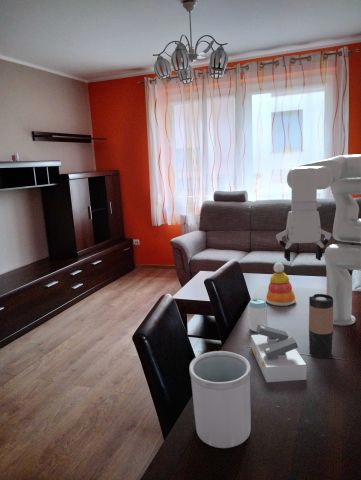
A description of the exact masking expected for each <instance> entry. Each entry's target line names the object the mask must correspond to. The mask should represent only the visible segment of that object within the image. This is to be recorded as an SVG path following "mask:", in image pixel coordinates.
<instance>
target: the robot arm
mask: <svg viewBox="0 0 361 480" xmlns="http://www.w3.org/2000/svg"><path fill="white" fill-rule="evenodd" d="M286 182H287V186H288V187H289V188H290V189H291V201H290V202H291V209H290V210H291V211H288V212H287V219H286V227H285V230H282V231H281V232H279V233H277V234H276V235H275V238H276V240H277V241H278V244H280V245H281V247H283V253H284V255H283V256H284V257H283V258H284V259H285V260H286V261H287V262H291V249H290V247H291V246H292V245H293V244H309V243H310V244H313V243H315V244H316V245H317V246H316V247H315V259H316V260H318V261H321V260H322V258H323V253H324V261H325V269H326V295H329V296H331V297H333V326H341V327H342V326H350V325H353V324H354V323H356V317H355V316H354V315H352V310H353V309H352V308H353V307H352V306H353V305H352V303H353V302H352V301H353V299H352V297H353V278H352V275H351V274H350V272H349V270H351V271H361V245H355V244H354V245H352V244H343V243H345V242H346V243H358V244H361V218H359V213H360V207H359V204H358V203H357V201H356V199H355V198H354V197H353V196H352V195H361V153H360V154H343V155H342V154H341V155H337V156H333V157H330V158H327V159H323V160H319V161H314V162H310V163H304V164H300V165H295V166H293V167H292V168H290V170H289V171H288V173H287V175H286ZM329 187H330V190H331V193H332V196H333V199H334V202H335V208H336V209H335V215H334V220H333V227H332V233H331V232H329V231H327V230H324V229H323V228H322V227H321V219H320V212H319V211H318V209H319V208H321V207H322V203H321V202H318V201H317V200H318V199H317V194H318V192H317V190H318V191H319V190H326V189H328V188H329ZM322 235H324V238H323V239H322V240H321V238H322ZM283 237H285V240H286V241H283V239H282V238H283ZM331 237H332V238H334V240H336V241H339V242H343V243H333V244H329V245H328V246H326V245H327V244H328V243H329V242H330V241H329V240H331ZM325 246H326V248H325ZM324 248H325V250H324V251H323V249H324Z"/></svg>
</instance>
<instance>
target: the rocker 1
mask: <svg viewBox="0 0 361 480" xmlns="http://www.w3.org/2000/svg"><path fill="white" fill-rule="evenodd" d="M256 333H258V334H257V335H264V336H268V337H272V338H276V339H279V340H286V339H288V338H290V337H289V335H288V333H287V331H285V330H281V329H278V328H277V329H276V328H274V327H269V326H267V327H266V326H262V325H258V327H257V332H256Z"/></svg>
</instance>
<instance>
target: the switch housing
mask: <svg viewBox="0 0 361 480" xmlns="http://www.w3.org/2000/svg"><path fill="white" fill-rule="evenodd" d="M250 341H251V342H250V343H251V344H250V345H251V350H252V353H253V356H254V357H255V359H256V362H257V364H258V367H259V369H260V371H261V373H262V375H263V377H264V379H265V382H266V383H277V382H278V383H279V382H290V381H291V382H293V381H306V380H307V363H306V362H305V360H304V359H303V358H302V356H301V355H300V353H299V352H298V351H297V348H296V349H294V350H291V351H288V352H286V353H283V354H281V355H278V356H276V357H273V358H270V359H267V357H266V355H265V353H264V350H263V348H265V347H268V346H271V345H273V344H276V343H278V342H281V341H283V340H279V339H276V338H272V337H268V336H264V335H260V334H251V335H250Z"/></svg>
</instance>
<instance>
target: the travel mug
mask: <svg viewBox="0 0 361 480" xmlns="http://www.w3.org/2000/svg"><path fill="white" fill-rule="evenodd" d="M326 294H327V293H326ZM326 294H325V293H315V294H313V295H312V296H309V298H308V299H309V300H308V301H309V302H308V303H309V304H308V341H309V343H308V344H309V348H308V350H309V354H310V355H311V356H312V357H315V358H318V359H319V358H320V359H327V358H330V357H331V356H332V354H333V338H334V335H333V334H334V325H333V297H331V296H329V295H326Z"/></svg>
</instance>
